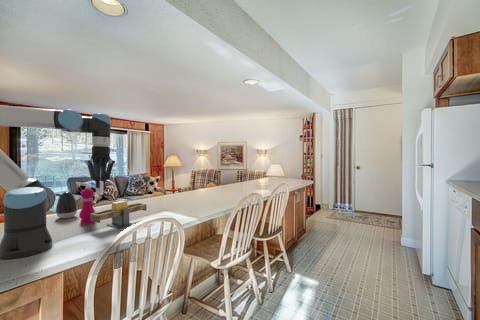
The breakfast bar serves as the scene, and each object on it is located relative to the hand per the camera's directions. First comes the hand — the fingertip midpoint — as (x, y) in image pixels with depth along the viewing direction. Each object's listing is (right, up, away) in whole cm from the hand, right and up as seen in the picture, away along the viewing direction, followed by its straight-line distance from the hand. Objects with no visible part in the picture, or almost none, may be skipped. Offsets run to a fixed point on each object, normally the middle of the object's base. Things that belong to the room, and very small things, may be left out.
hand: (100, 194), depth 108 cm
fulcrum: (+5, -17, +9) cm, 20 cm away
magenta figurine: (-15, -17, +12) cm, 26 cm away
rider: (+5, -10, +8) cm, 14 cm away
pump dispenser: (-34, -17, +23) cm, 44 cm away
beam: (+5, -12, +9) cm, 16 cm away
